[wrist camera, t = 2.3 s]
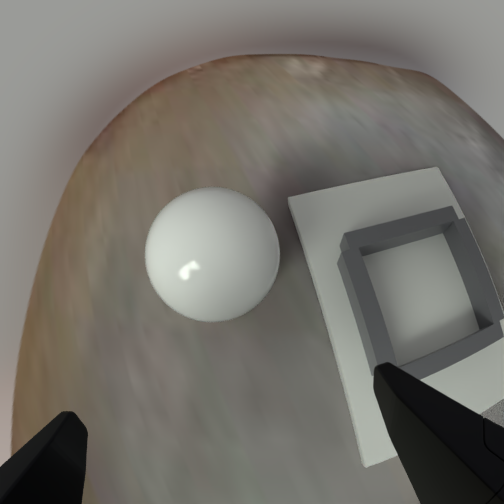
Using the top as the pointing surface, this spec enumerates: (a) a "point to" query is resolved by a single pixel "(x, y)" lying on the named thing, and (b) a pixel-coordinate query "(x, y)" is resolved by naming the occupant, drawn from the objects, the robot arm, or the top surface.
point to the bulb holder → (402, 294)
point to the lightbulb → (212, 254)
